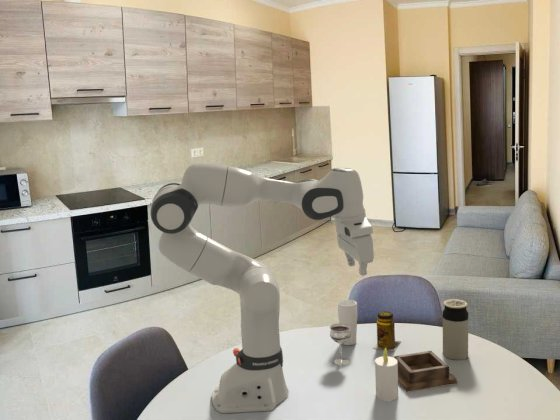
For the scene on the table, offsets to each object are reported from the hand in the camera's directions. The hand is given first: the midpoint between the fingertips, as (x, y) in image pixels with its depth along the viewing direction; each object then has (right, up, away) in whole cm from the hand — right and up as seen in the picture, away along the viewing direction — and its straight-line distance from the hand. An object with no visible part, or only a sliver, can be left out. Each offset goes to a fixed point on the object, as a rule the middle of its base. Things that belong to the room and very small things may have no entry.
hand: (357, 269), depth 155 cm
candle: (+9, -36, 0) cm, 37 cm away
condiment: (+15, -30, +33) cm, 47 cm away
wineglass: (-2, -33, +22) cm, 40 cm away
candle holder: (+21, -34, +9) cm, 41 cm away
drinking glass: (+2, -30, +36) cm, 47 cm away
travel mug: (+36, -31, +22) cm, 52 cm away
